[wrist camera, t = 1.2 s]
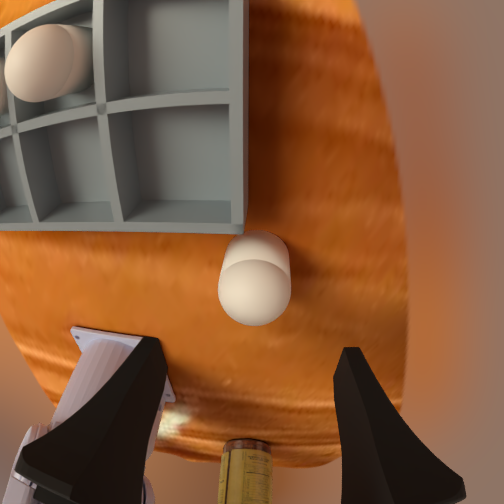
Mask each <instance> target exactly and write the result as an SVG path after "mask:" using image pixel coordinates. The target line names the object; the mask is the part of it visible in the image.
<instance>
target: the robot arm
mask: <svg viewBox="0 0 504 504" xmlns="http://www.w3.org/2000/svg"><path fill="white" fill-rule="evenodd" d="M71 333H72V335H73V337H74V339H75V341H76V343H77V344H78V346H79V348H80V350H81V352H82V355H81V357H80V359H79V361H78V363H77V365H76V367H75V369H74V371H73V373H72V375H71V378H70V380H69V382H68V384H67V386H66V388H65V391H64V393H63V395H62V397H61V399H60V402H59V404H58V406H57V409H56V411H55V413H54V416H53V418H52V420H51V423H50V424H49V425H47V426H45V425H43V424H41V423H39V424H38V425H33V426H31V427H30V428H29V430H28V431H27V433H26V435H25V437H24V439H23V441H22V443H21V446H20V448H19V451H18V453H17V456H16V458H15V462H14V464H13V467H12V471H11V475H10V480H9V482H8V486H7V489H6V493H5V496H4V499H3V502H2V504H155V496H154V492H153V489H152V486H151V483H150V481H149V479H148V478H147V477H146V476H144V471H145V461H146V460H147V459H148V458H149V457H150V455H151V454H152V452H153V449H154V445H155V441H156V437H157V433H158V429H159V425H160V421H161V417H162V413H163V409H164V405H165V402H172V403H173V402H175V400H176V397H175V395H174V392H173V389H172V387H171V384H170V381H169V379H168V376H167V370H168V367H167V364H166V361H165V358H164V355H163V352H162V349H161V346H160V342H159V339H158V338H153V337H145V336H144V337H138V336H131V335H124V334H117V333H110V332H104V331H98V330H92V329H86V328H80V327H72V329H71ZM333 382H334V401H335V408H336V415H337V421H338V428H339V435H340V441H341V450H342V497H341V504H455V503H457V502H460V501H462V500H464V499H465V498H466V491H465V485H464V482H463V478H462V477H460V476H459V475H458V474H456V473H455V472H454V471H453V470H451V469H450V468H449V467H448V466H446V465H445V464H444V463H443V462H442V461H441V460H440V459H438V458H437V457H436V456H435V455H434V454H433V453H432V452H431V451H430V450H429V449H428V448H427V447H426V446H425V445H424V444H423V443H422V442H421V441H420V440H419V438H418V437H417V436H416V435H415V434H414V433H413V432H412V430H411V429H410V428H409V426H408V425H407V424H406V423H405V421H404V420H403V419H402V417H401V416H400V415H399V413H398V412H397V410H396V409H395V407H394V406H393V405H392V403H391V402H390V400H389V398H388V397H387V395H386V394H385V392H384V390H383V389H382V387H381V386H380V384H379V382H378V381H377V379H376V377H375V375H374V373H373V372H372V370H371V368H370V366H369V364H368V363H367V361H366V359H365V357H364V355H363V353H362V351H361V349H360V348H359V347H344V348H343V351H342V354H341V357H340V360H339V363H338V365H337V368H336V371H335V374H334V376H333Z"/></svg>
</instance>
